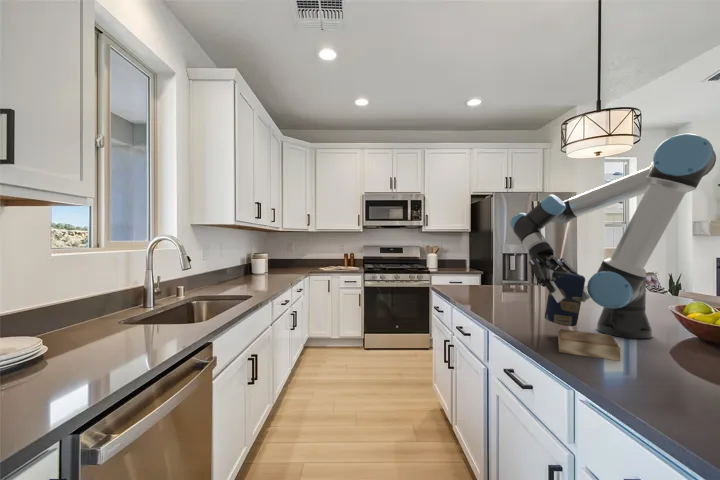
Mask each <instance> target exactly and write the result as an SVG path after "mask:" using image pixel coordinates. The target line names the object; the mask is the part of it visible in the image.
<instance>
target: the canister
mask: <svg viewBox="0 0 720 480" xmlns="http://www.w3.org/2000/svg"><path fill="white" fill-rule="evenodd" d="M565 271H570V272H573V273H574V274H573V273H568V272H565ZM576 272H577V271H576ZM576 272H574V271H571V270H564V271H553V272H552V273H551V278H550V280H551V281H554V283H555V284H556V286H557V287H558V289H559V290H560V292H561V293H562V295H563V296H564V299H563V300H562V301H560V302H559V303H557V302H556V300H555V298H554V297H553V295H552V294H551V293H550V292H549V291H548V296H547V301H546V307H545V311H544V318H545V320H547V321H548V322H551V323H553V324H557V325H559V326H560V325H561V326H564V327H575V326H577V324H578V320H579V315H580V310H581V306H582V303H583V302H582V295H583V290H584V289H585V283H586V277H584V275H581V274H579V273H578V272H577V273H578V274H579V275H578V274H577V273H576ZM551 281H550V282H551Z"/></svg>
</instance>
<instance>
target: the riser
mask: <svg viewBox="0 0 720 480" xmlns="http://www.w3.org/2000/svg"><path fill="white" fill-rule="evenodd" d="M557 333H558V334H557V340H558V341H557V342H558V352H559V353H564V354H570V355H577V356H578V355H579V356H584V357H592V358H597V359H606V360H611V361H612V360H613V361H618V362H619V361H621V347H620V346H619V344H618V342H617V341H616V339H615V337H613V335H610V334H606V333H596V332H589V331H588V332H587V331H580V330H579V331H578V330H569V329H562V328H561V329H560V330H558V332H557Z"/></svg>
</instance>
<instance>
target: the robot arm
mask: <svg viewBox="0 0 720 480" xmlns="http://www.w3.org/2000/svg"><path fill="white" fill-rule="evenodd" d="M716 156H717V154H716V152H715V150H714V148H713V145H712V143H711V142H710V141H709V140H708V139H707V138H705V137H703V136H701V135H698V134H694V133H682V134H677V135H674V136H671V137H669V138H667V139H665V140H664V141H662V142H661V143H660V144H659V145H658V146H657V147H656V149H655V151H654V154H653V159H652V162H651V164H650V165H649V167H647V168H644V169H640V170H639V171H636V172H633V173H630V174H628V175H626V176H623V177H621V178H619V179H616V180H613V181H611V182H609V183H606V184H604V185H600V186H598V187H596V188H594V189H591V190H588V191H585V192H584V193H581V194H578V195H575V196H572V197H571V198H569V199H565V200H562V199H561V198H559V197H558V196H557V195H555V194H549V195H547V196H546V197H545V198H543V199H542V200H540V202H539V203H538V204H536V206H535V207H533V208H532V209H531V210H530V211H529V212H528V213H525V212H520V213H518V214H516V215H514V216H513V217H511V220H510V223H509V225H510V227H511V229H512V230H513V233H514V234H515V236H516V237H517V239H518V240H519V241H520V244H522V246H523V248H524V249H525V250H526V252H527V253H528V255H529V257H530V260H529V261H528V264H529V265H530V266H531V268H532V271H533V273H534V277H535V280H536V283H537V284H539V285H541V287H542V288H545V287H546V289H547V291H548V293H549V292H550V293H551V294H552V295H553V297H554V298H555V300H556V302H557V303H559V302H560V301H562V300H563V299H564V296H563V295H562V293H561V292H560V290H559V289H558V287H557V286H556V284H555V283H554V281H551V273H550V272H551V271H553V272H554V271H564V270H571V271H574V272H576V273H577V274H578V275H580V274H579V273H578V272H577V271H576V270H575V269H574V268H573V267H572V266H571V265H570V264H569V263H567V260H566V259H565V258H564V257H561V258H559V259H558V257H556V256H555V255H554V253H555V251H554V249H553V247H552V246H551V245H550V244H549V243H548V240H547V238H546V237H544V235H543V234H542V233H541V230H542V229H544V227H546V226H547V225H548V224H549V223H557V224H567V223H569V222H571V221H572V220H573V219H576V218H579V217H581V216H584V215H586V214H589V213H592V212H595V211H598V210H601V209H603V208H607V207H610V206H612V205H616V204H619V203H621V202H624V201H627V200H629V199H632V198H636V197H638V196H641V195H643V196H642V197H641V200H640V202H639V204H638V206H637V207H636V209H635V211H634V213H633V215H632V217H631V219H630V221H629V223H628V224H627V227H626V229H625V230H624V232H623V235H622V236H621V238H620V240H619V242H618V244H617V245H616V247H615V250H614V251H613V253H612V255H611V256H610V257H607V258H604V259H603V260H602V262H601V264H600V266H599V268H598V270H597V272H595V273H594V274H593V275H591V277H590V279H589V280H588V282H587V285H586V289H587V291H586V289H585V288H584V290H583V295H582V302H581V303H586V301H588V300H589V299H591V300H592V301H593V302H594V303H595V304H597V305H598V306H600V307H602V310H601V312H600V315H599V317H598V320H597V323H596V329H597V331H599V332H601V333H602V334H606V335H612V336H614V337H620V338H621V337H622V338H629V339H640V340H641V339H650V338H652V337H653V330H652V326H651V323H650V321H649V318H648V315H647V313H646V303H647V302H646V297H647V295H646V294H647V293H646V292H647V291H646V290H647V286H646V284H647V274H646V269H645V266H646V265H647V263H648V261H649V260H650V258H651V256H652V254H653V252H654V250H656V249H655V248H656V247H657V245H658V243H659V241H660V240H661V238H662V236H663V234H664V233H665V230H666V229H667V227H668V225H669V223H670V222H671V220H672V218H673V217H674V214H675V213H676V211H677V209H678V207H679V205H680V203H681V202H682V200H683V198H684V197H685V195H686V194H687V193H690V192H692V191H695V190H697V187H698V186H699V184H700V182H701V180H702V179H703V177H705V176H706V175H708V174H709V173H710V172H711V171H712V170H713V169H714V167H715V165H716V162H717V157H716ZM550 270H551V271H550ZM565 272H568V273H573V272H570V271H565ZM573 274H574V273H573Z"/></svg>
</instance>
